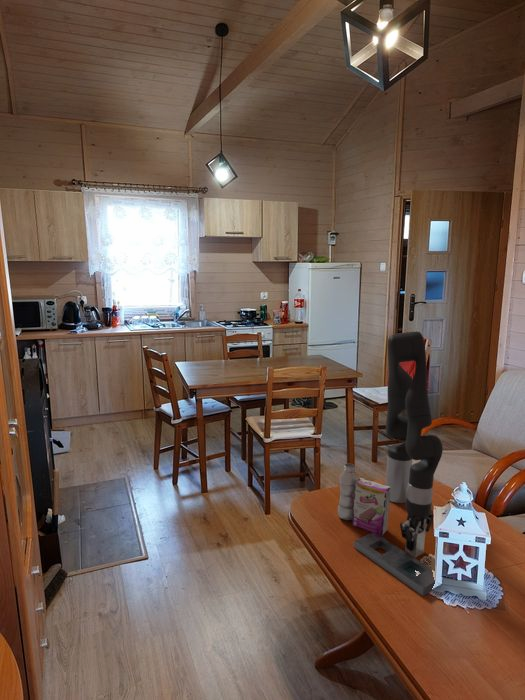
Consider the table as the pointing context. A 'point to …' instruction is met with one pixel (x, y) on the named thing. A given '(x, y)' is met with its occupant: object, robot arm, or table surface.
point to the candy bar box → (371, 506)
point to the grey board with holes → (397, 562)
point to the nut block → (417, 543)
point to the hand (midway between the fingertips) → (414, 547)
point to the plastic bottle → (347, 492)
